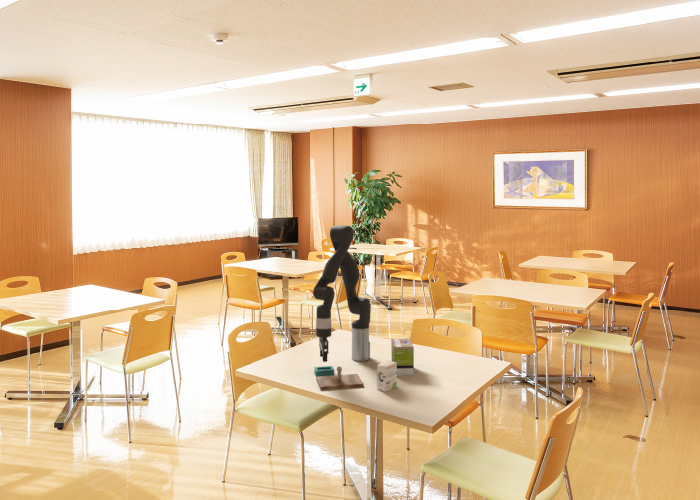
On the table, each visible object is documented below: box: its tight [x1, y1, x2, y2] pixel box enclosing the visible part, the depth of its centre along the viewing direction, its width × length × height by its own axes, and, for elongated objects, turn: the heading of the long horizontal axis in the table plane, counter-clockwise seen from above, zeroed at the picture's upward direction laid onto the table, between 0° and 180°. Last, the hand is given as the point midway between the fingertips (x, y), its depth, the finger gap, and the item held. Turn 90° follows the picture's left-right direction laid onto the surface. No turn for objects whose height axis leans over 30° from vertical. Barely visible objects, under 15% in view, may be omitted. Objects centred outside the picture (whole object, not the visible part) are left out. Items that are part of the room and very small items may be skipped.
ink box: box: [376, 360, 398, 392], centre depth 248 cm, size 9×5×12 cm, turn 137°
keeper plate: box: [315, 366, 365, 391], centre depth 254 cm, size 20×14×8 cm
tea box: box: [390, 338, 415, 377], centre depth 272 cm, size 15×10×15 cm
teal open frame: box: [313, 365, 335, 378], centre depth 267 cm, size 9×6×3 cm, turn 102°
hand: (323, 359), depth 266 cm, fingers open, 8 cm apart
